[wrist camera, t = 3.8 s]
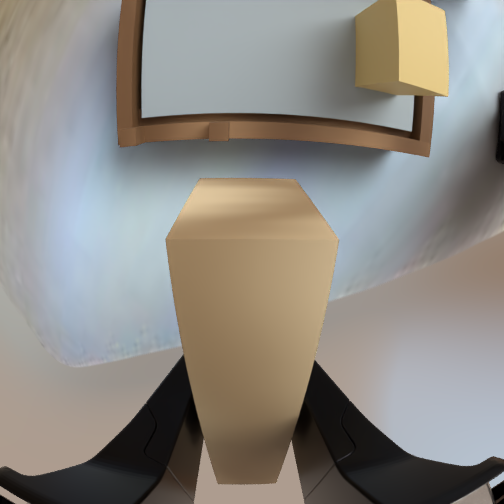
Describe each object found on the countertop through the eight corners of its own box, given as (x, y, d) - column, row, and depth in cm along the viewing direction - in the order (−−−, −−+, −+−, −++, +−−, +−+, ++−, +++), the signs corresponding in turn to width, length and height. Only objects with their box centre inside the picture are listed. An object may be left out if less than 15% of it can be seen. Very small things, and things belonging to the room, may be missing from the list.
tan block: (295, 179, 7) (339, 239, 4) (270, 417, 12) (276, 483, 9) (199, 178, 7) (165, 239, 4) (219, 417, 12) (217, 484, 9)
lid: (406, 10, 10) (458, -11, 5) (405, 130, 13) (463, 145, 9) (152, -13, 9) (118, -52, 5) (146, 117, 13) (102, 123, 8)
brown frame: (398, 11, 12) (441, -8, 7) (395, 145, 16) (441, 162, 12) (148, -7, 11) (118, -39, 6) (143, 136, 16) (108, 148, 11)
